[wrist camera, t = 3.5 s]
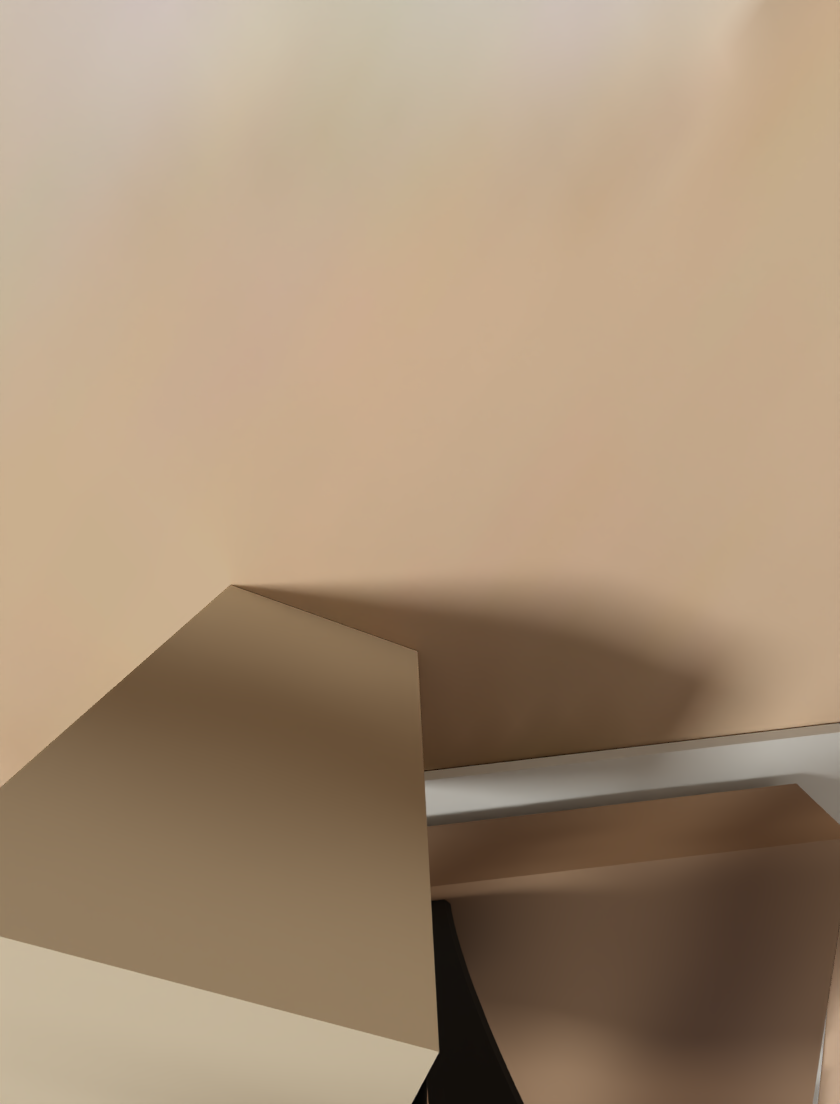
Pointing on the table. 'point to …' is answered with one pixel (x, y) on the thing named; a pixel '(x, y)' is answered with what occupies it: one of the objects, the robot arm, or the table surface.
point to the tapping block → (225, 877)
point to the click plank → (651, 944)
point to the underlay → (642, 778)
